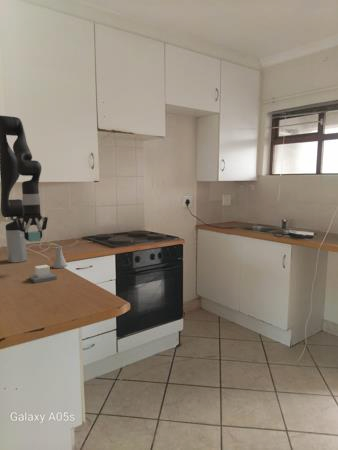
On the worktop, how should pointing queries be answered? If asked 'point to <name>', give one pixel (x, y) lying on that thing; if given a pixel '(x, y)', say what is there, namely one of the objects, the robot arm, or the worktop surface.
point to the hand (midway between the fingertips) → (33, 239)
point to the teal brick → (33, 236)
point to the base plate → (42, 278)
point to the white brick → (42, 271)
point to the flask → (59, 259)
